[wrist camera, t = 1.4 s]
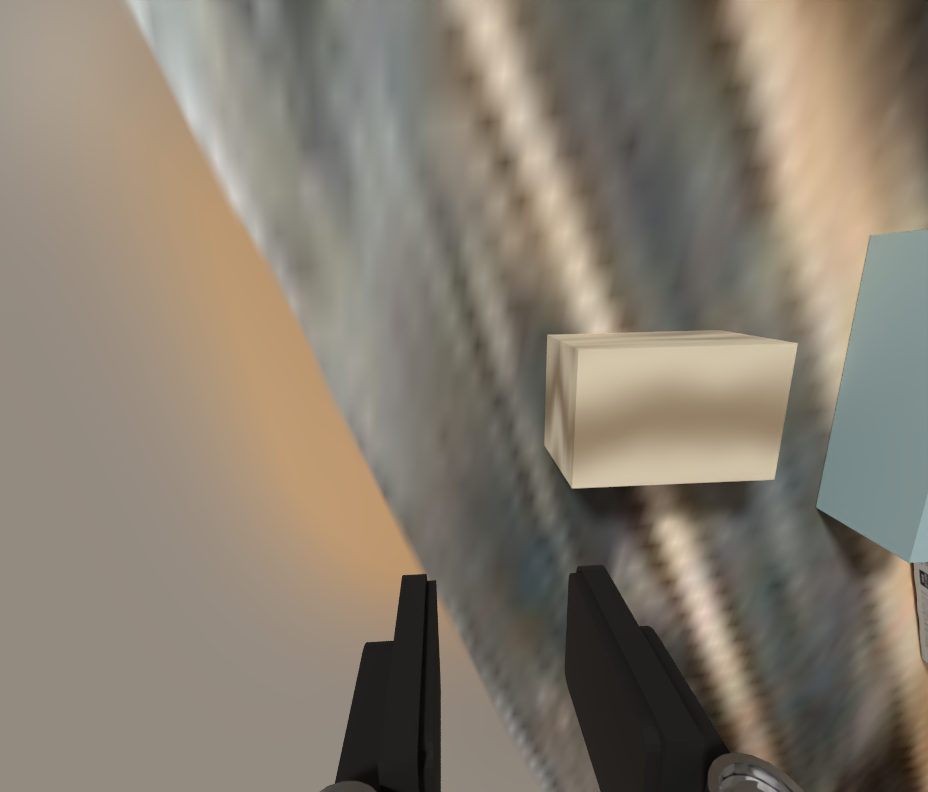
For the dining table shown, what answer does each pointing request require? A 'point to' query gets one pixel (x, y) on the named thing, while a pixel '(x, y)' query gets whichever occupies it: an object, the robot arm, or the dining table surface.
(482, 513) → the dining table surface
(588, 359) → the maple brick
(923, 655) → the tea box
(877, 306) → the board
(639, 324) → the dining table surface
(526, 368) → the dining table surface
